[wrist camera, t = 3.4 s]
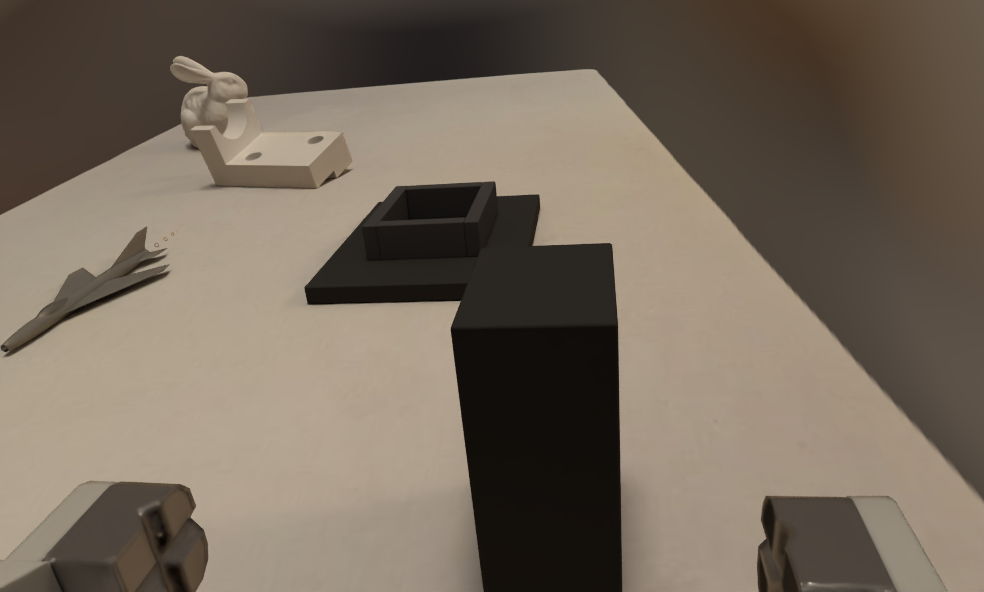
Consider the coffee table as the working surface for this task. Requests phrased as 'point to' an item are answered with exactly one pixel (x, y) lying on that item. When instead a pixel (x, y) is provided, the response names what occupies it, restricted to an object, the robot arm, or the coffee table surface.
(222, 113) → the rabbit
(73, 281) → the toy airplane
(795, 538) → the robot arm
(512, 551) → the pad block
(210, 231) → the coffee table surface
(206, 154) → the bracket
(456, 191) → the base pad
